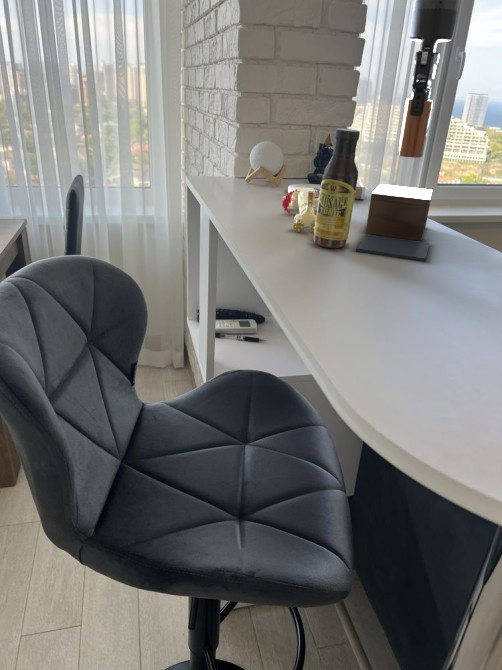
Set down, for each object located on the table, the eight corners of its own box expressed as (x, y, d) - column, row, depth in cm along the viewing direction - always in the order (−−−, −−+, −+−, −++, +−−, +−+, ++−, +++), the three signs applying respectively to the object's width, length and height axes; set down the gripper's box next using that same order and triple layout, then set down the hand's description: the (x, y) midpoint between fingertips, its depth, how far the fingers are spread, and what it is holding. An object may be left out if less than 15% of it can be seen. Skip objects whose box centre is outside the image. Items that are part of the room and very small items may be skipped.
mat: (428, 245, 96) (429, 243, 96) (425, 261, 87) (425, 258, 87) (365, 236, 100) (366, 234, 100) (356, 251, 90) (356, 248, 90)
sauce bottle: (307, 245, 92) (320, 128, 83) (319, 238, 97) (332, 126, 88) (342, 252, 89) (358, 131, 81) (352, 244, 94) (369, 130, 86)
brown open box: (425, 227, 109) (432, 189, 105) (421, 241, 99) (430, 199, 95) (373, 221, 112) (379, 184, 109) (365, 233, 102) (371, 193, 98)
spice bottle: (423, 155, 100) (435, 88, 95) (421, 158, 96) (434, 88, 91) (398, 153, 102) (409, 87, 96) (396, 156, 98) (407, 87, 92)
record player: (366, 188, 131) (289, 184, 131) (364, 200, 132) (288, 196, 133) (359, 180, 141) (288, 177, 142) (358, 192, 143) (287, 188, 143)
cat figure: (331, 239, 101) (322, 203, 122) (337, 196, 96) (326, 166, 118) (281, 236, 101) (281, 200, 122) (285, 193, 96) (284, 163, 118)
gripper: (458, 2, 81) (436, 118, 89) (458, 14, 93) (439, 115, 101) (409, 3, 83) (392, 115, 91) (416, 14, 95) (400, 113, 103)
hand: (417, 114), depth 96 cm, fingers closed on spice bottle, 4 cm apart
